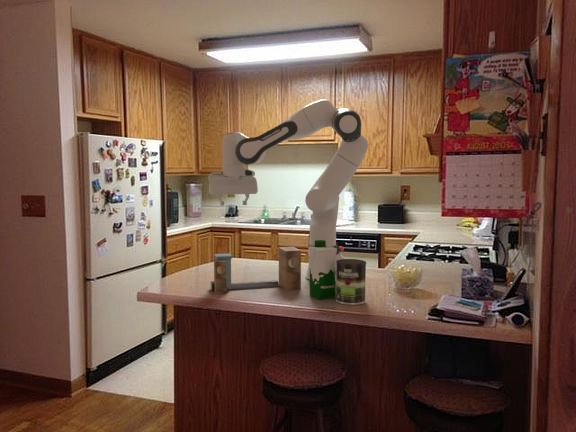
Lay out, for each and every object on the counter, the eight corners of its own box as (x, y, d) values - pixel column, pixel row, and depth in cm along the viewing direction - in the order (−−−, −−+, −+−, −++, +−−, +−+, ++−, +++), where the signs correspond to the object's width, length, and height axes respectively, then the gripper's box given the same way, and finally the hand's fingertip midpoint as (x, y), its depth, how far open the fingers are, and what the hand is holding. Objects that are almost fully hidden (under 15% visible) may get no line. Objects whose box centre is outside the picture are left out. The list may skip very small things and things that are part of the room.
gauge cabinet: (293, 283, 199) (293, 246, 197) (301, 289, 188) (301, 250, 187) (278, 284, 197) (278, 247, 195) (286, 290, 186) (286, 251, 185)
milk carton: (327, 292, 184) (327, 239, 182) (339, 298, 175) (339, 242, 174) (306, 294, 180) (306, 240, 178) (317, 300, 172) (317, 244, 170)
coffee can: (362, 306, 165) (362, 264, 163) (332, 303, 168) (332, 262, 167) (368, 299, 174) (368, 259, 173) (339, 296, 178) (340, 258, 177)
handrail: (276, 284, 196) (276, 277, 196) (278, 286, 193) (278, 279, 193) (210, 289, 189) (210, 281, 188) (212, 291, 185) (211, 283, 185)
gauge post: (224, 291, 186) (224, 259, 184) (227, 294, 181) (226, 261, 180) (214, 291, 184) (213, 260, 183) (216, 294, 180) (215, 262, 179)
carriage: (229, 281, 192) (229, 253, 191) (232, 284, 186) (232, 255, 185) (214, 282, 190) (214, 254, 189) (216, 285, 184) (216, 256, 183)
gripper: (208, 172, 198) (209, 206, 199) (258, 171, 204) (258, 205, 205) (206, 172, 204) (207, 205, 205) (255, 171, 210) (255, 204, 211)
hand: (233, 205), depth 205 cm, fingers open, 8 cm apart
